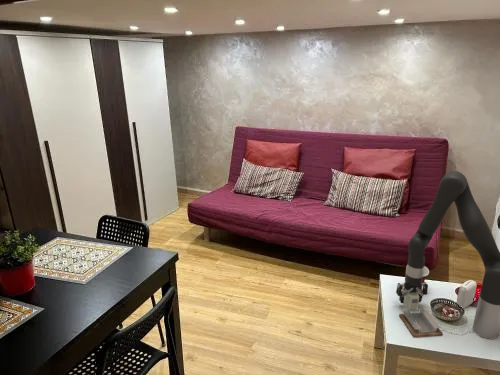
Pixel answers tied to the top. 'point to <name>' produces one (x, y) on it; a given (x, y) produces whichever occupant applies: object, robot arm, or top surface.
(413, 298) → the block
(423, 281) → the plastic cup
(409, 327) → the mounting board
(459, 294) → the white toy toaster
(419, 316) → the grey base plate
